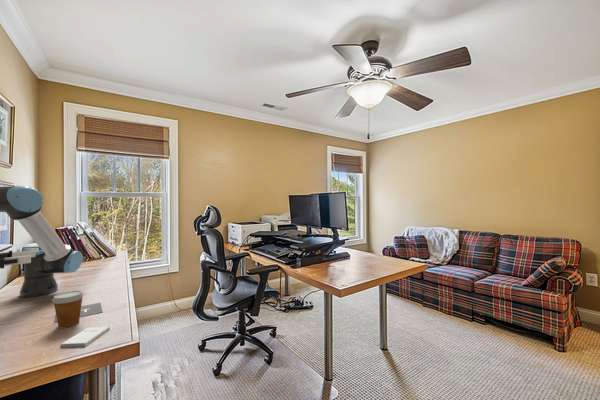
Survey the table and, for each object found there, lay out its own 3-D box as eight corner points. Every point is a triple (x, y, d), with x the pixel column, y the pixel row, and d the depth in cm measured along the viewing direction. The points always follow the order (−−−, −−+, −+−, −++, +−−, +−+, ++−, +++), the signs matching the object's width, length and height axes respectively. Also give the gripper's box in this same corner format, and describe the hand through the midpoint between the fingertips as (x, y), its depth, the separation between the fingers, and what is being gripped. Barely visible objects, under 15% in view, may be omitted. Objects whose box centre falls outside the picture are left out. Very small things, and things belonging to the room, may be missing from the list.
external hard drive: (60, 348, 91) (87, 331, 104) (85, 347, 91) (109, 330, 104) (60, 343, 91) (87, 326, 104) (85, 342, 91) (109, 326, 104)
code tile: (56, 311, 122) (56, 311, 122) (100, 302, 132) (100, 302, 132) (53, 322, 110) (53, 322, 110) (102, 312, 120) (102, 311, 120)
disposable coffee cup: (89, 321, 111) (89, 291, 111) (62, 331, 102) (62, 299, 102) (74, 318, 114) (73, 289, 115) (46, 328, 106) (46, 297, 106)
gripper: (-41, 269, 103) (37, 260, 116) (-69, 285, 84) (28, 272, 97) (-42, 249, 103) (36, 242, 116) (-70, 260, 84) (28, 251, 97)
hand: (33, 256), depth 107 cm, fingers open, 13 cm apart
